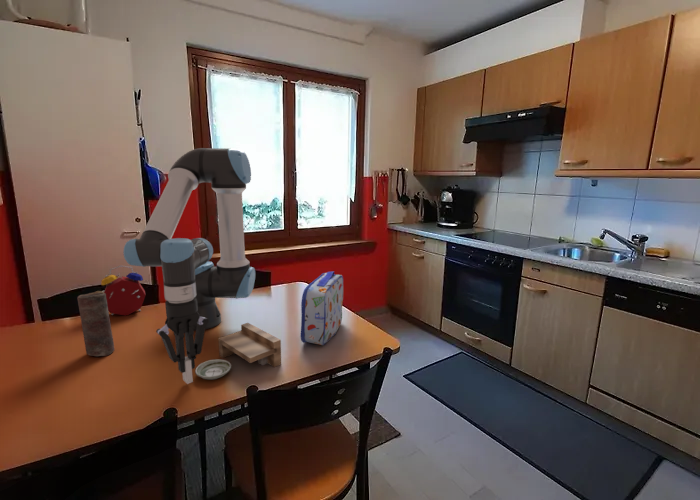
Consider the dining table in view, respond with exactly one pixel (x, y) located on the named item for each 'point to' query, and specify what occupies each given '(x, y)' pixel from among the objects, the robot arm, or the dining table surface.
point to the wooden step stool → (252, 345)
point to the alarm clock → (123, 292)
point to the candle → (96, 324)
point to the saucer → (213, 369)
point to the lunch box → (321, 308)
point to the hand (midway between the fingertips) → (187, 380)
